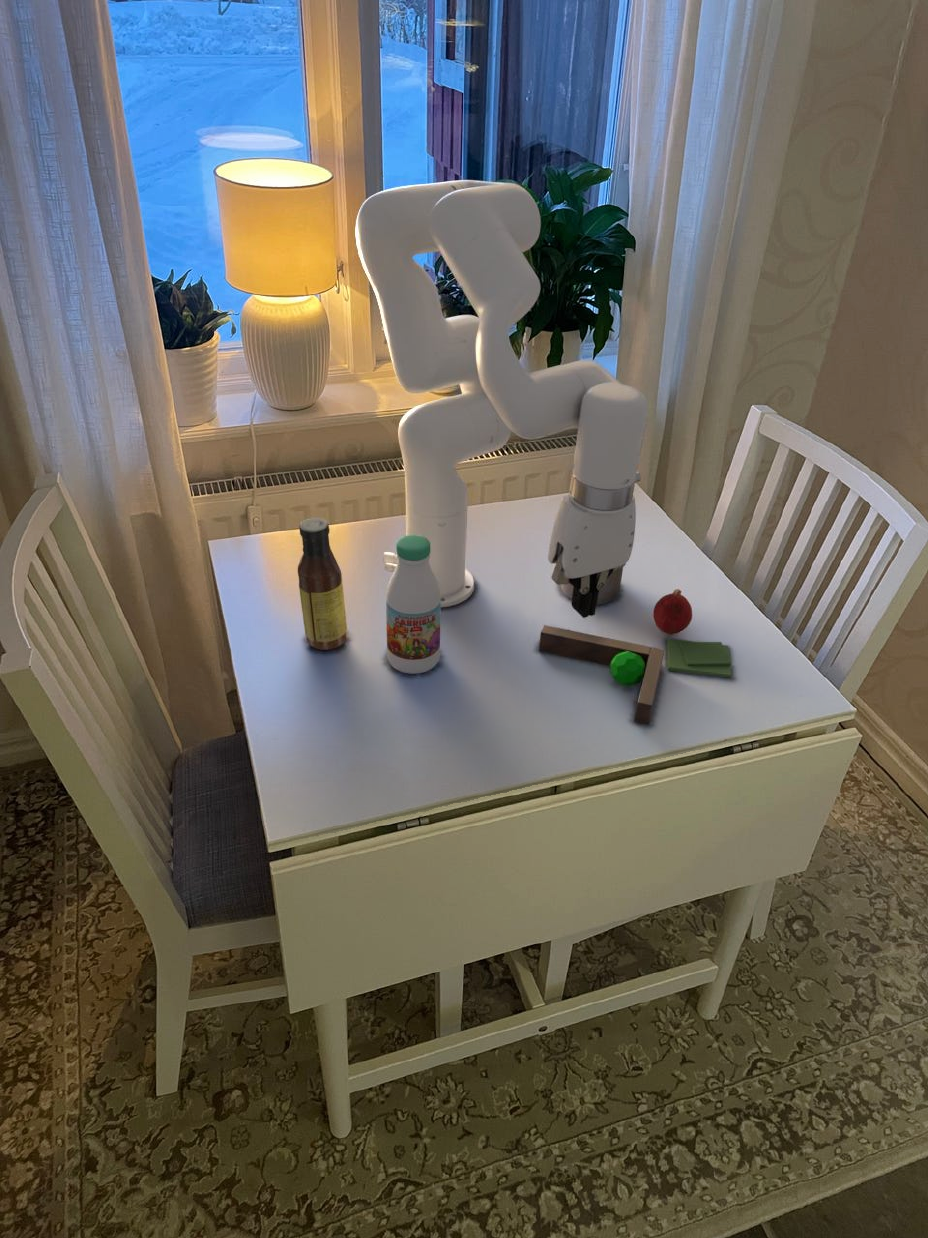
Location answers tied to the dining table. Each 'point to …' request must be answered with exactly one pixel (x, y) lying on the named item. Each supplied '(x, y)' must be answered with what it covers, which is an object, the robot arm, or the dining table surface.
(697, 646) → the green rag
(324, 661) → the dining table surface
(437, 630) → the milk bottle
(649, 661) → the corner stop
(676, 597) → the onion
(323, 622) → the sauce bottle
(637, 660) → the polyhedron
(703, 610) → the dining table surface
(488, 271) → the robot arm
